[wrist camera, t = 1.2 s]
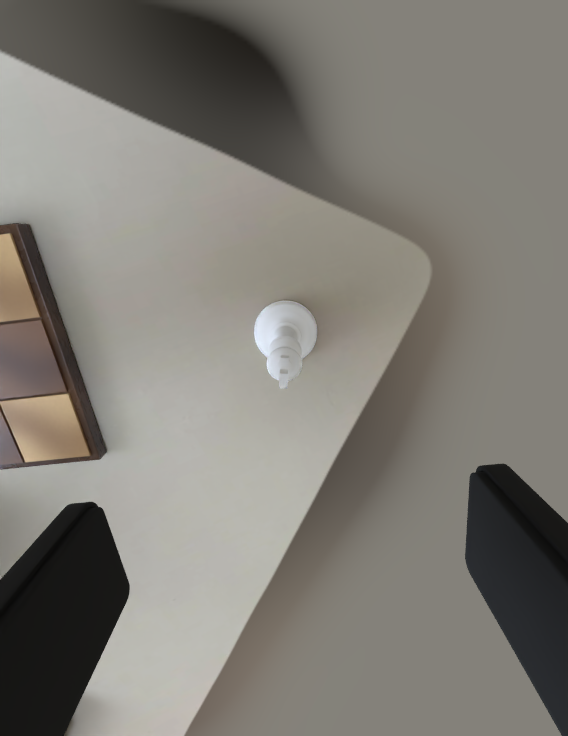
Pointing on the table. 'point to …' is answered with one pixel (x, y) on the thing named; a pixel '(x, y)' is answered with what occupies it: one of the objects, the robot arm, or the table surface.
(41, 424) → the board
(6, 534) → the table surface
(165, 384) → the table surface
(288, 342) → the chess piece
